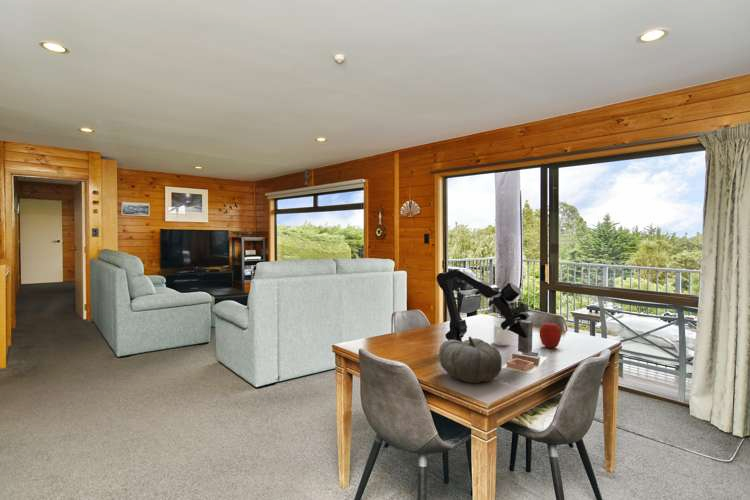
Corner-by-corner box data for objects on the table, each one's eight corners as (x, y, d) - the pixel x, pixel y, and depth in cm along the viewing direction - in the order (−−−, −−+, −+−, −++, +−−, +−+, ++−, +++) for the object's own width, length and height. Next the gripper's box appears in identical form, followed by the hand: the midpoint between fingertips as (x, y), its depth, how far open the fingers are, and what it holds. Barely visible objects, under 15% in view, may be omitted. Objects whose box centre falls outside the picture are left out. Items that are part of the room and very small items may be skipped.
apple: (556, 345, 206) (557, 319, 206) (564, 350, 196) (564, 323, 196) (536, 344, 207) (537, 318, 207) (542, 349, 197) (543, 322, 197)
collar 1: (506, 366, 168) (506, 361, 168) (516, 362, 173) (516, 358, 173) (524, 371, 162) (524, 366, 162) (533, 367, 167) (533, 362, 167)
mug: (504, 349, 197) (505, 329, 196) (488, 346, 202) (489, 326, 201) (512, 344, 206) (513, 325, 206) (497, 342, 211) (497, 323, 211)
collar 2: (520, 359, 178) (520, 355, 178) (521, 354, 185) (521, 350, 185) (539, 361, 174) (539, 357, 174) (539, 357, 182) (540, 352, 182)
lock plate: (530, 376, 159) (530, 366, 159) (501, 370, 166) (501, 360, 166) (547, 359, 181) (547, 351, 181) (521, 354, 188) (521, 346, 188)
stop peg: (517, 351, 170) (518, 321, 170) (521, 349, 173) (522, 319, 173) (528, 353, 167) (528, 323, 167) (531, 351, 170) (532, 321, 170)
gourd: (422, 369, 157) (431, 327, 158) (457, 366, 175) (465, 328, 175) (476, 394, 139) (486, 346, 140) (509, 388, 157) (517, 345, 157)
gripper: (508, 299, 165) (533, 329, 158) (525, 294, 179) (549, 322, 172) (490, 314, 171) (514, 344, 164) (508, 309, 185) (531, 336, 178)
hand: (528, 336), depth 169 cm, fingers closed on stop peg, 4 cm apart
